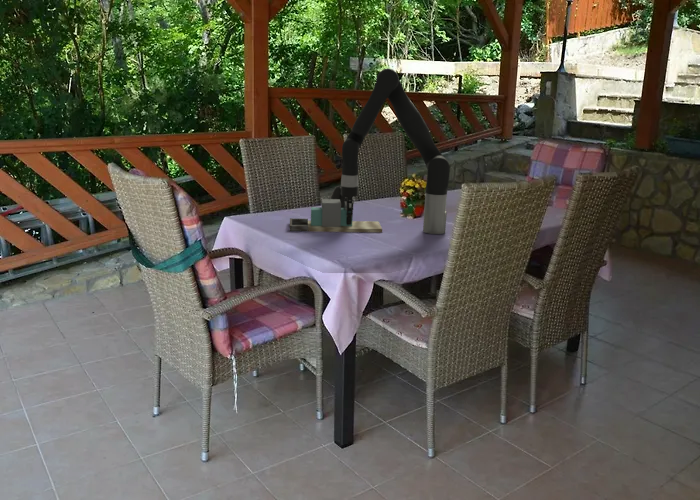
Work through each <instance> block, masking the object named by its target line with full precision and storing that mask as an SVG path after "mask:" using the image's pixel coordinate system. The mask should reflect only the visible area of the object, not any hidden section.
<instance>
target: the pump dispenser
mask: <svg viewBox="0 0 700 500" xmlns="http://www.w3.org/2000/svg"><path fill="white" fill-rule="evenodd" d="M329 199H340V201H341V208H345V203H344V199H345V197H344V196H342V195H341V185H338V186H335V187H334V189H333V191H332V193H331V195H330V198H329Z"/></svg>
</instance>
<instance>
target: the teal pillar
mask: <svg viewBox="0 0 700 500" xmlns="http://www.w3.org/2000/svg"><path fill="white" fill-rule="evenodd" d="M346 213H347V211H346V210H345V208H341V226H352V224H351V225H347V224H346V220H347V216H346ZM348 213H351V211H348ZM353 216H354V215H353ZM353 216H352V219H353ZM310 221H311V226H322V207H310Z"/></svg>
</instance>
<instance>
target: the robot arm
mask: <svg viewBox="0 0 700 500" xmlns="http://www.w3.org/2000/svg"><path fill="white" fill-rule="evenodd" d="M387 99H388V101H389V102H390V103H391V105H392V108H393V110H394V113H395V115H396V118H397V120H398V122H399V123H400V126H401V127H402V129H403V132H404V133H405V135H406V136H407V137H408V138H409V140H410V141H411V143H412V144H413V145H414V146H415V148H416V149H417V150H418V152H419V154H420V156H421V157H422V160H423V162H424V164H425V166H426V169H427V177H426V184H425V197H424V208H423V209H424V212H423V226H422V232H423V233H426V234H430V235H442V234H446V226H447V214H448V212H447V211H446V210H447V198H448V189H449V182H450V172H451V171H450V163H449V161H448V160H447V159H446V157H444V155H443V154H442V152H441V151H440V149H439V148H438V147H437V145H436V144H435V142H434V140H433V137H432V134H431V132H430V130H429V128H428V126H427V123H426V122H425V120H424V118H423V117H422V115H421V113H420V111H419V110H418V108H417V107H416V106H415V104H414V103H413V101H412V100H411V99H410V97H409V96H408V95H407V93H406V91H405V89H404V87H403V85H402V82H401V80H400V77H399V75H398V73H397V72H396V71H395V70H394V69H393V68H384V69H381V70H380V71H379V72H378V74H377V75H376V82H375V84H374V87H373V89H372V92H371V94H370V96H369V98H368V100H367V102H366V103H365V105H364V106H363V108H362V110H361V111H360V113H359V115H358V116H357V118H356V119H355V121H354V123H353V125H352V128H351V130H350V132H349V134H348V135H347V137H346V139H345V140H344V142H343V143H342V145H341V155H342V156H341V158H342V165H341V177H340V178H341V179H340V186H341V195H342V196H344V197H345V199H344V203H345V210H346V211H347V213H346V216H347V220H346V224H347V225H351V224H352V221H353V218H352V216H354V214H353V213H354V204H355V200H354V197H355V198H356V197H358V196H359V162H358V159H359V150H360V148H361V146H362V144H363V142H364V140H365V138H366V136H367V135H368V134H369V132H370V130H371V128H372V127H373V124H374V123H375V121H376V120H377V116H378V115H379V113H380V111H381V109H382V107H383V105H384V104H385V102H386V101H387ZM348 211H351V213H348Z"/></svg>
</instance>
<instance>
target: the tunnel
mask: <svg viewBox="0 0 700 500" xmlns="http://www.w3.org/2000/svg"><path fill="white" fill-rule="evenodd" d="M321 208H322V227H340V226H341V201H340V199H330V198H321Z"/></svg>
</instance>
